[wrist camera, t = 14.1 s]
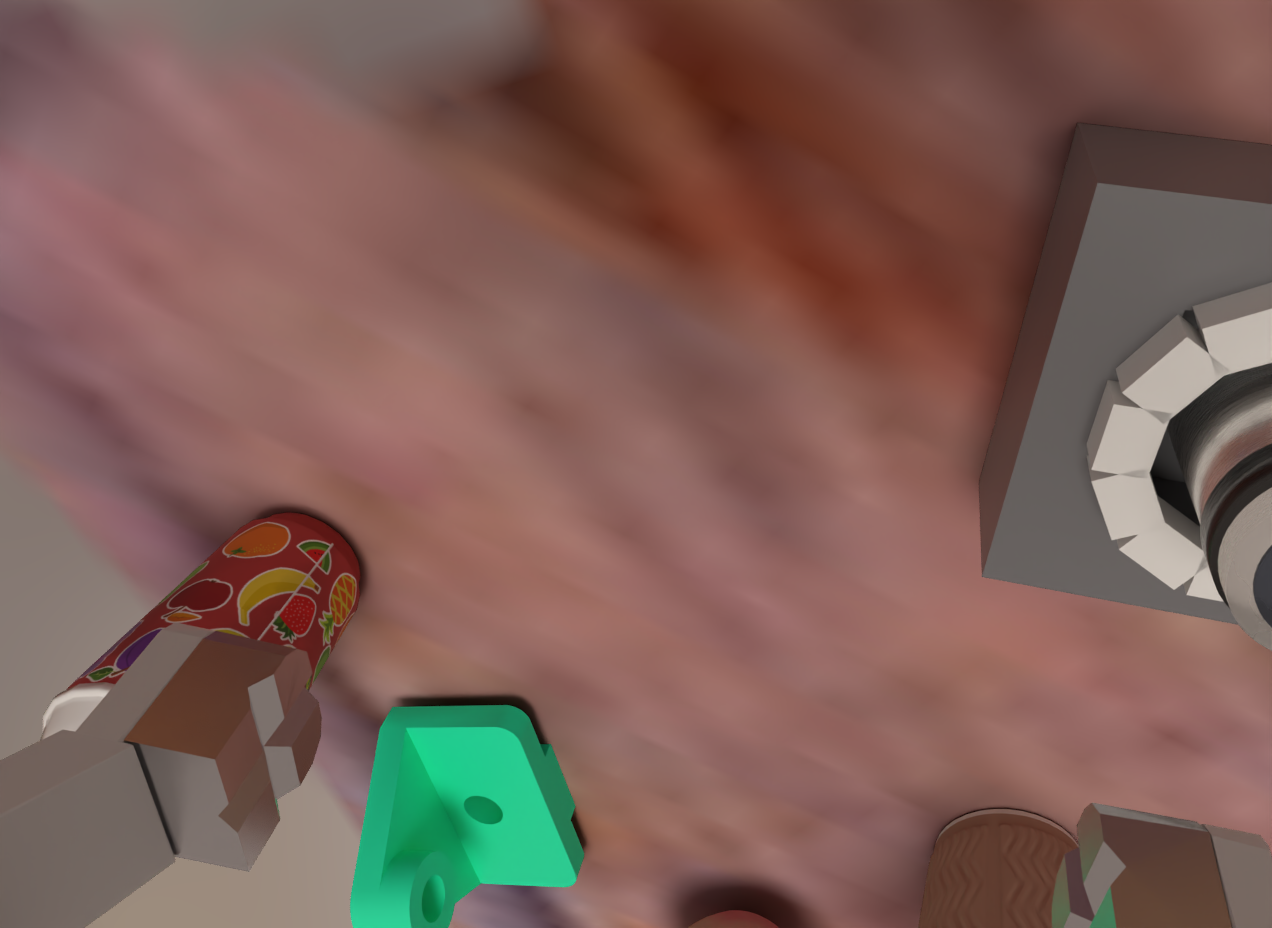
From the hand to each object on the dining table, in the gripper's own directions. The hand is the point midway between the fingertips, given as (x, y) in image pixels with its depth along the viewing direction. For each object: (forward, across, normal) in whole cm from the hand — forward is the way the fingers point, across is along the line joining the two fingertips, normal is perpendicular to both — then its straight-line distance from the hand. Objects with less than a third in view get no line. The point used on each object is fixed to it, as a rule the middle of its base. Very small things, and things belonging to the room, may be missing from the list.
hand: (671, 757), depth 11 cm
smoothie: (+29, +23, +26) cm, 46 cm away
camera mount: (+29, +13, +40) cm, 51 cm away
